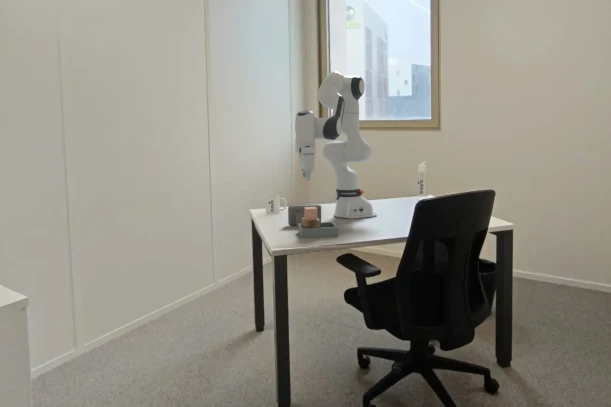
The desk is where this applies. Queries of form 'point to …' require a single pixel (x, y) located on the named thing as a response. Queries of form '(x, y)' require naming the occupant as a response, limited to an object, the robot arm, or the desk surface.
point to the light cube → (310, 213)
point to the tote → (319, 230)
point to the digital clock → (300, 214)
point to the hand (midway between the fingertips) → (306, 178)
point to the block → (310, 223)
